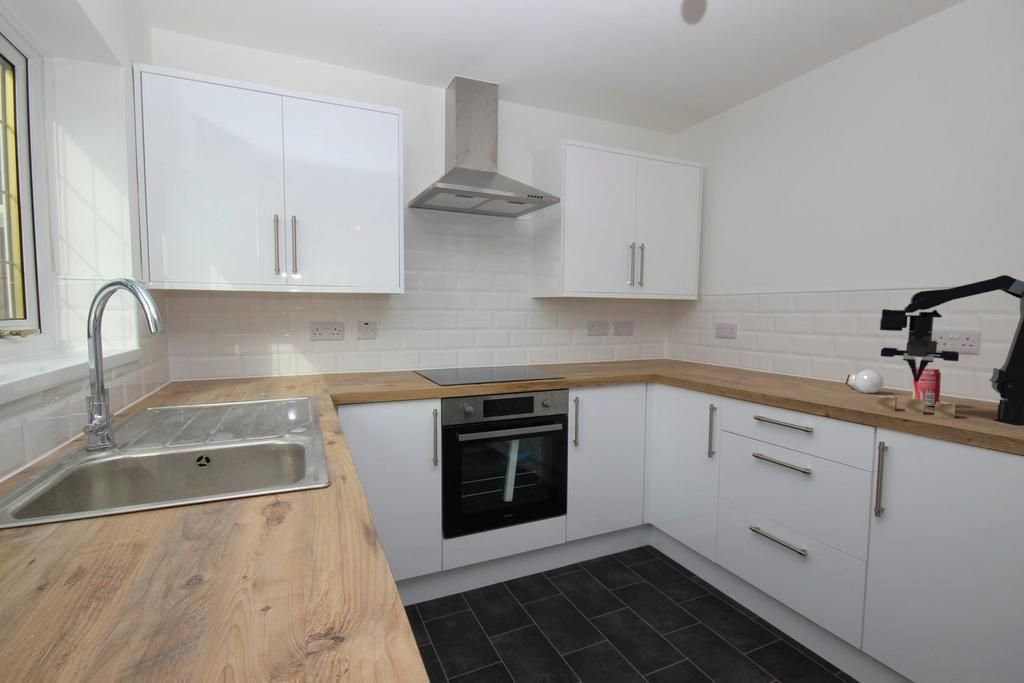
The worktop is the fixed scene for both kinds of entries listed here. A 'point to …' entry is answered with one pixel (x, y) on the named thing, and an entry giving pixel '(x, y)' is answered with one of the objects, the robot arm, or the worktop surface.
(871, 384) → the potion bottle
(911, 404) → the plain block
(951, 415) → the pip block near
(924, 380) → the soda can
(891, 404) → the pip block far
